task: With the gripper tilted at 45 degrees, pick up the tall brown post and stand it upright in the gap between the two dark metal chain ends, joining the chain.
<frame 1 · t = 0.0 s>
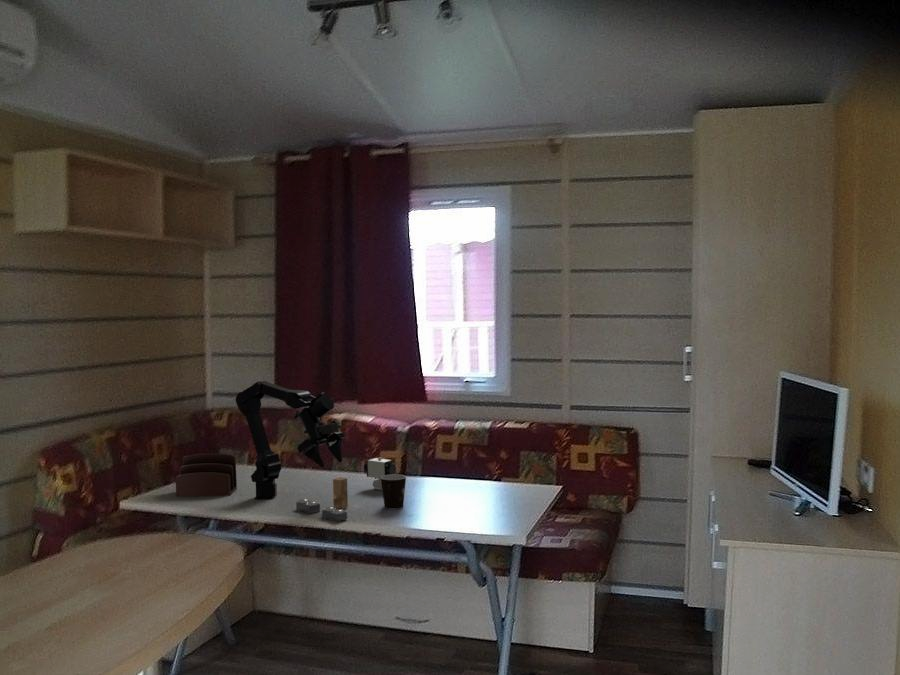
hand: (332, 464, 266), 15 cm above the table, tool tilted 35°, fingers open, 9 cm apart
tall brown post: (340, 508, 266), on the table
letter holder: (207, 493, 291), on the table
coffee mug: (391, 507, 267), on the table
chain ends: (321, 514, 259), on the table
pneumatic valve: (381, 489, 293), on the table
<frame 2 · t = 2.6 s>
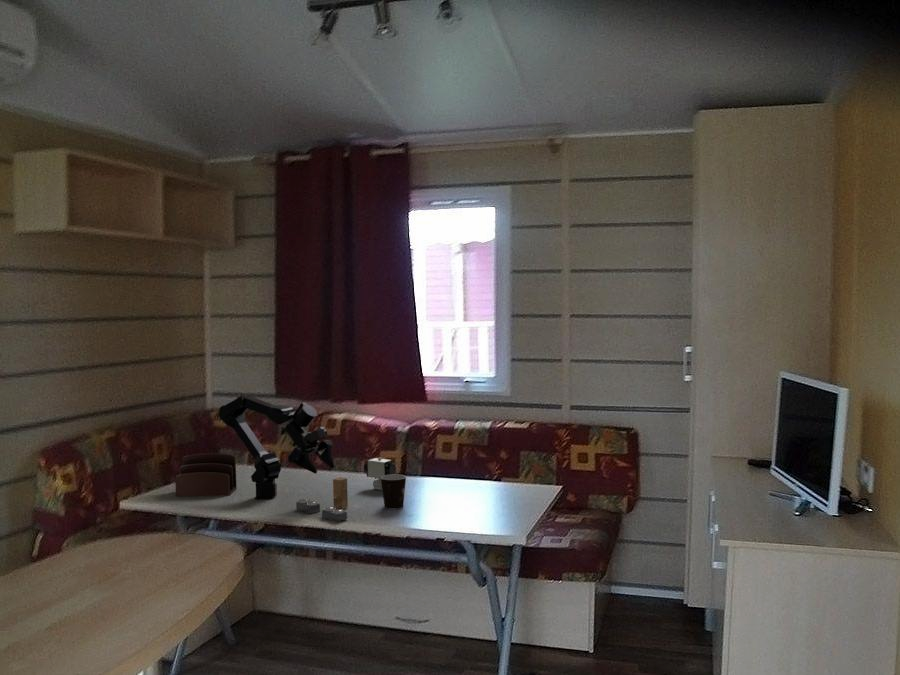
hand: (325, 470, 269), 12 cm above the table, tool tilted 45°, fingers open, 9 cm apart
nothing on the table moved.
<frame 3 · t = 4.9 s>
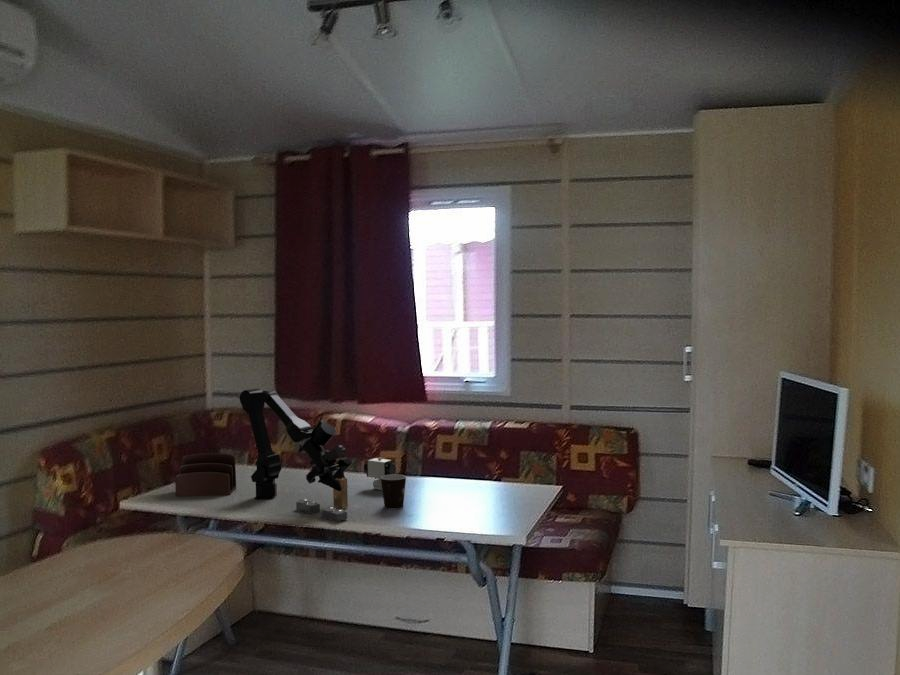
hand: (343, 489, 265), 7 cm above the table, tool tilted 45°, fingers closed on tall brown post, 3 cm apart
tall brown post: (340, 508, 266), on the table, touching gripper
everything else where it was.
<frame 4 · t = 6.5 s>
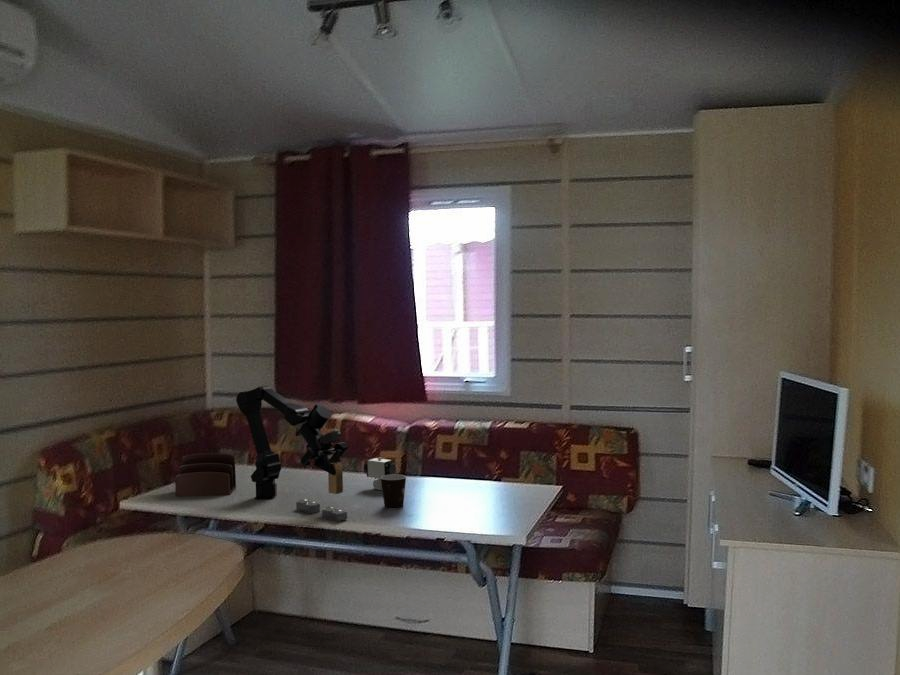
hand: (338, 473, 263), 12 cm above the table, tool tilted 45°, fingers closed on tall brown post, 3 cm apart
tall brown post: (335, 492, 264), point 6 cm above the table, touching gripper
everything else where it was.
when the fingers open (8 cm above the table, at t = 8.4 s): tall brown post drops 1 cm, on the table.
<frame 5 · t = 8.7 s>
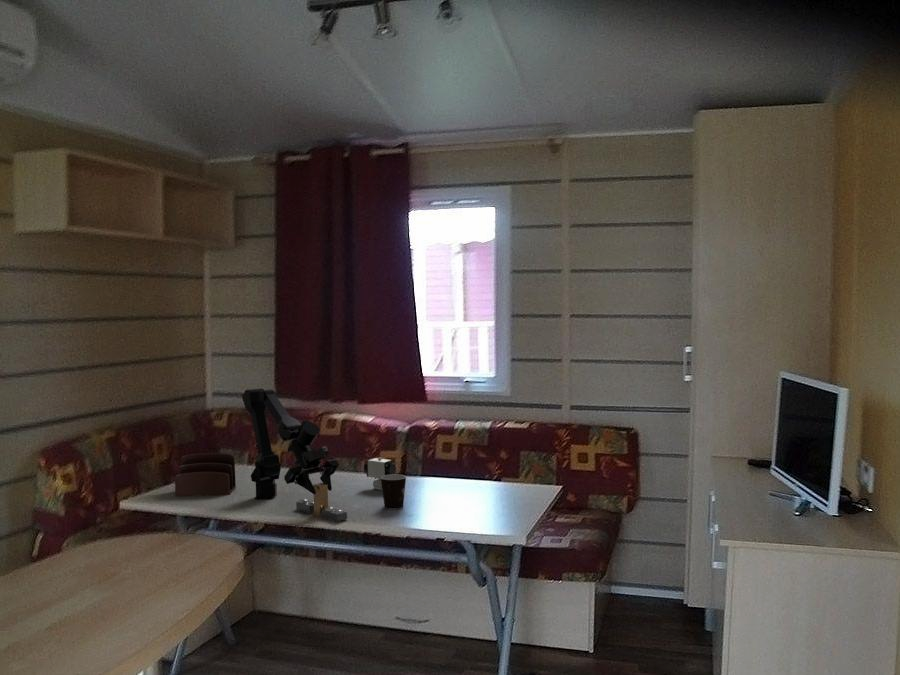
hand: (323, 491, 257), 8 cm above the table, tool tilted 45°, fingers open, 6 cm apart
tall brown post: (321, 514, 259), on the table
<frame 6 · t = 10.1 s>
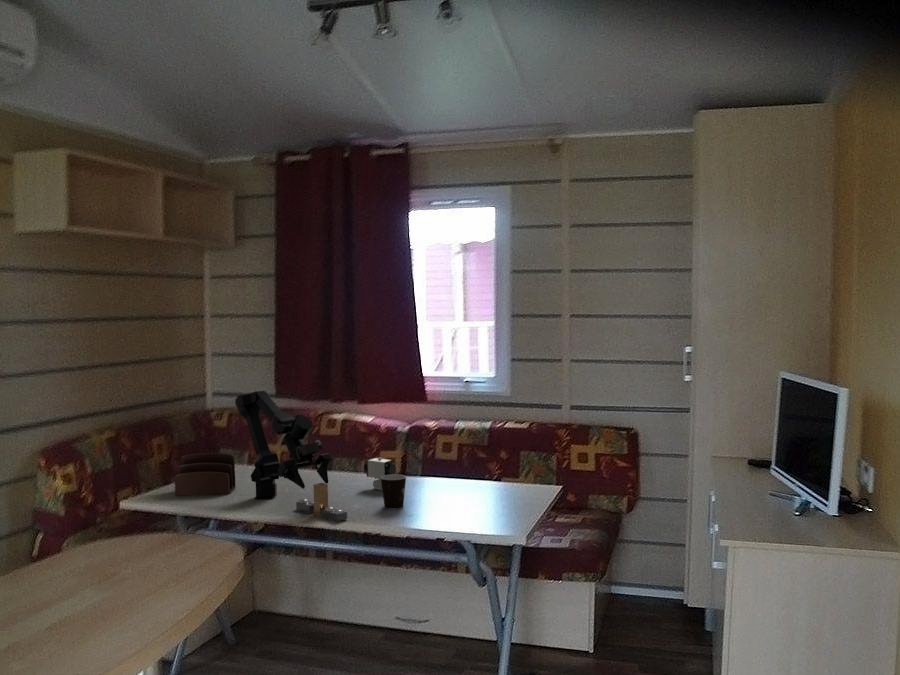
hand: (315, 485, 260), 9 cm above the table, tool tilted 45°, fingers open, 9 cm apart
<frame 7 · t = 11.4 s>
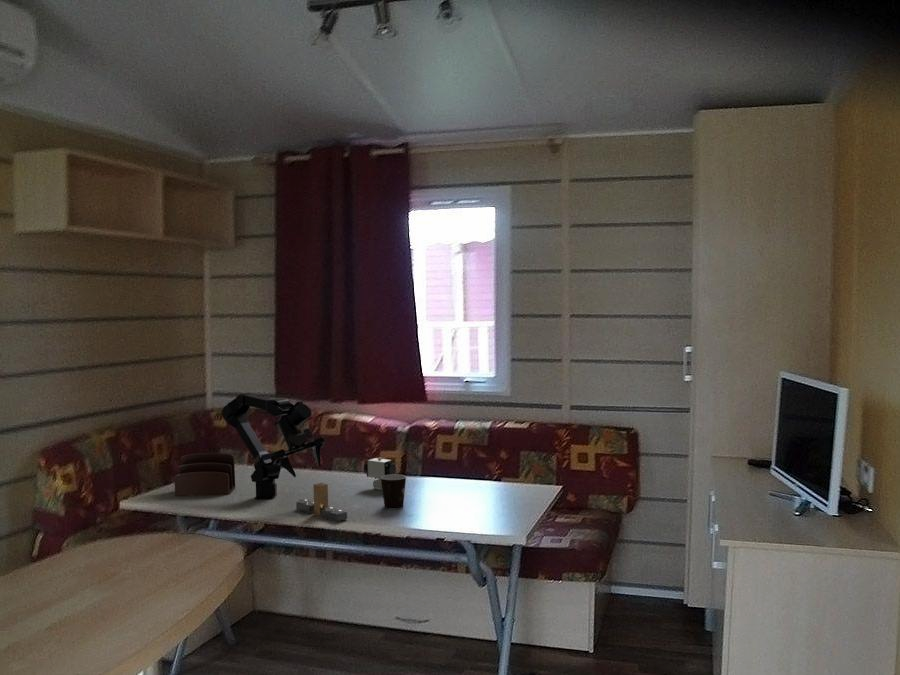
hand: (307, 472, 269), 12 cm above the table, tool tilted 30°, fingers open, 9 cm apart
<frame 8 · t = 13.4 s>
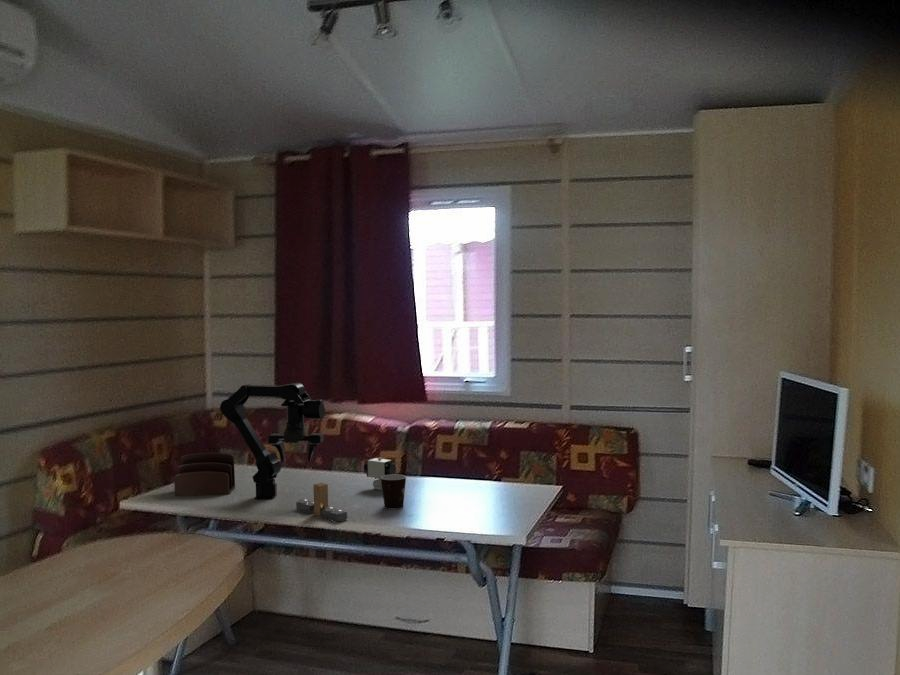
hand: (296, 462, 280), 13 cm above the table, tool pointing down, fingers open, 9 cm apart
at the end: tall brown post 0.1 cm from the chain ends (horizontally); tall brown post tilted 0°; the gripper is holding nothing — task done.
